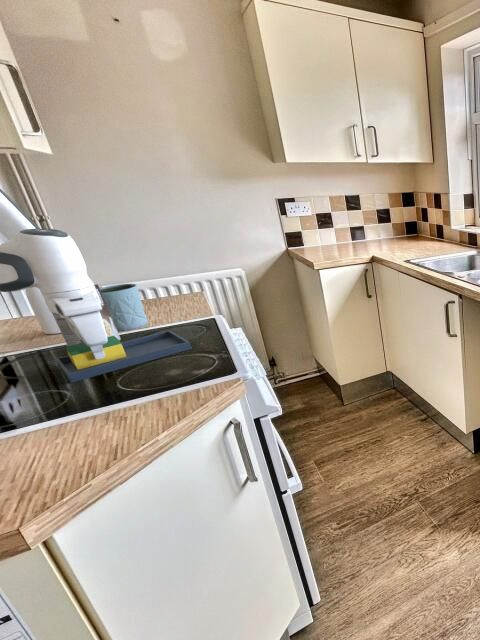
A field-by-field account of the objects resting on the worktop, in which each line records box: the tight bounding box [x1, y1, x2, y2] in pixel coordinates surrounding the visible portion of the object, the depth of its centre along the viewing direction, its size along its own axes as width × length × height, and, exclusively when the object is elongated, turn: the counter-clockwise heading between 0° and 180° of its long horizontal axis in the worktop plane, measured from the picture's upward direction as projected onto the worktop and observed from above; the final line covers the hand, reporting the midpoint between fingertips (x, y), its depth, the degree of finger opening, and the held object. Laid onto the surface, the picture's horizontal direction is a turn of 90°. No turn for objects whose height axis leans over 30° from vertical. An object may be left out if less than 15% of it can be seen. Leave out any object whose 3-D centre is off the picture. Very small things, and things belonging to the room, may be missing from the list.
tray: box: [54, 330, 192, 384], centre depth 106 cm, size 23×15×2 cm, turn 143°
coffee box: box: [52, 283, 122, 346], centre depth 110 cm, size 9×6×16 cm
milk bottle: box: [25, 287, 62, 335], centre depth 123 cm, size 8×8×20 cm
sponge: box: [64, 336, 126, 370], centre depth 103 cm, size 9×6×4 cm, turn 142°
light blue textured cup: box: [99, 283, 149, 332], centre depth 126 cm, size 10×10×12 cm
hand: (96, 354), depth 103 cm, fingers closed on sponge, 6 cm apart
